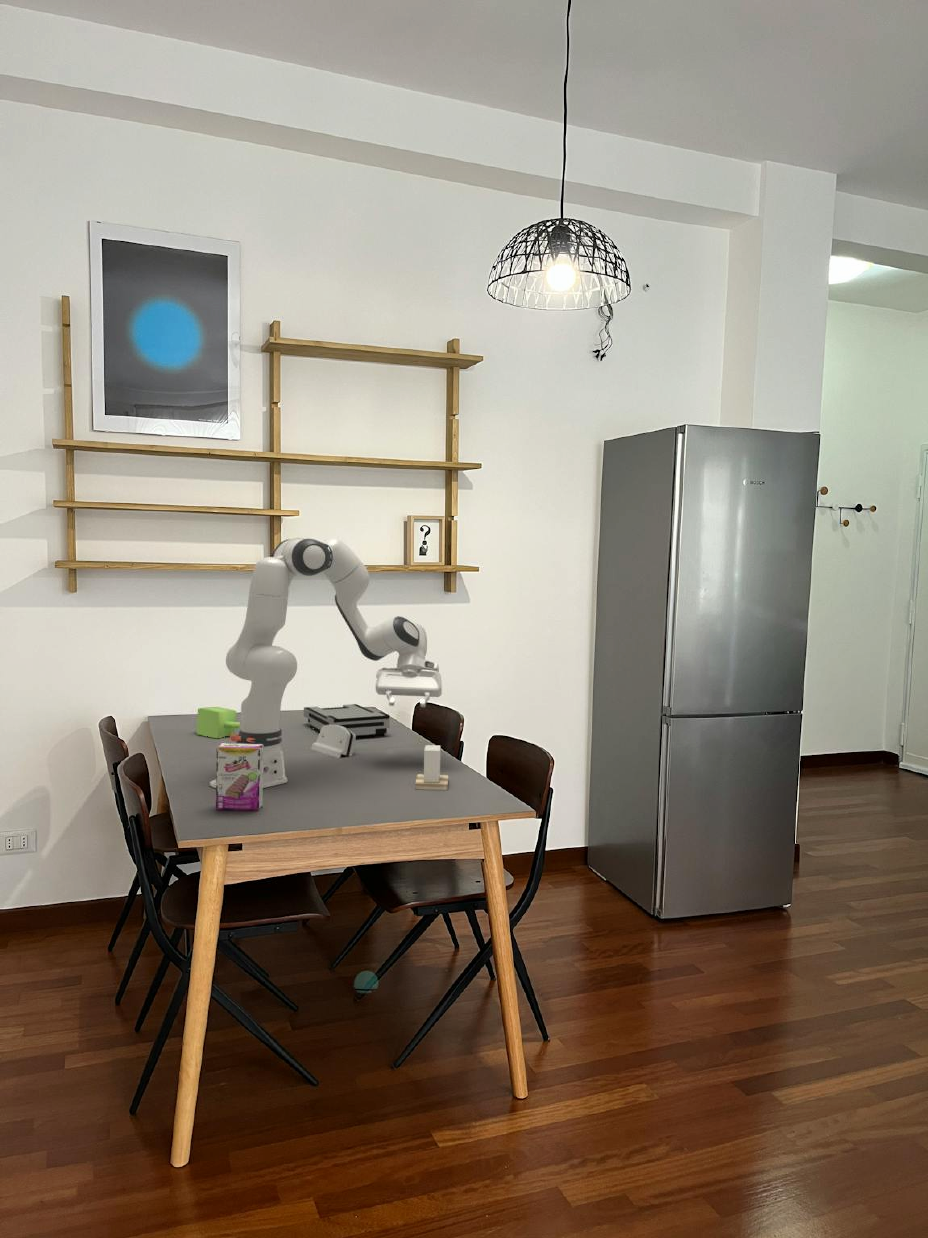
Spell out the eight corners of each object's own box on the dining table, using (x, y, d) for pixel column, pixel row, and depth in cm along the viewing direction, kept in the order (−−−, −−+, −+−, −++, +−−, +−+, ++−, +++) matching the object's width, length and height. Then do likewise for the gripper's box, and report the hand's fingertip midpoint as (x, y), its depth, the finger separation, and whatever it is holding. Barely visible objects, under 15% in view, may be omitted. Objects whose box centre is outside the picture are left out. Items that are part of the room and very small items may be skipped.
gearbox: (248, 737, 326) (249, 711, 326) (226, 741, 318) (228, 713, 317) (212, 730, 336) (213, 704, 335) (190, 733, 327) (192, 706, 327)
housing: (438, 782, 263) (439, 750, 262) (423, 781, 263) (424, 750, 262) (439, 776, 270) (440, 745, 269) (425, 775, 270) (425, 745, 269)
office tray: (355, 722, 358) (355, 700, 357) (389, 738, 330) (389, 715, 329) (303, 725, 348) (303, 704, 348) (333, 742, 320) (333, 719, 319)
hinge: (310, 749, 308) (319, 719, 310) (321, 752, 311) (330, 723, 313) (339, 758, 296) (348, 728, 297) (350, 761, 299) (359, 731, 301)
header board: (447, 790, 261) (447, 773, 260) (415, 789, 261) (415, 772, 260) (448, 780, 272) (448, 764, 271) (417, 779, 272) (417, 763, 271)
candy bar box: (215, 810, 236) (215, 746, 234) (219, 805, 241) (220, 742, 239) (259, 811, 236) (260, 747, 235) (263, 805, 241) (263, 743, 240)
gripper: (376, 661, 287) (371, 697, 277) (443, 664, 286) (440, 700, 277) (378, 674, 291) (373, 710, 282) (443, 676, 291) (440, 712, 282)
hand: (407, 705), depth 280 cm, fingers open, 8 cm apart
